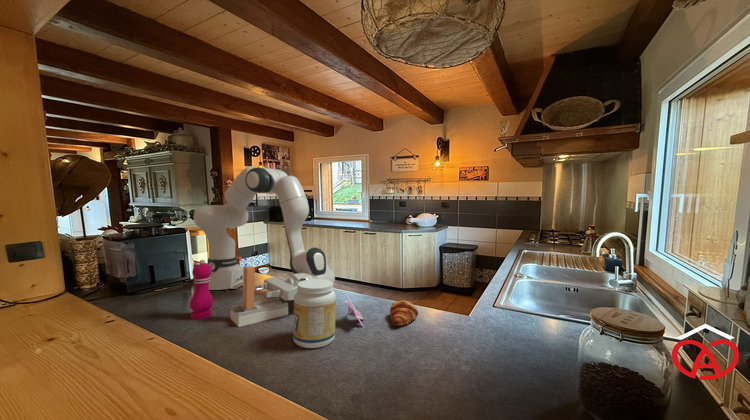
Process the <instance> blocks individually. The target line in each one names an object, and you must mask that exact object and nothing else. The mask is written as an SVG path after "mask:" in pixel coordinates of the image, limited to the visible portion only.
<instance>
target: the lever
mask: <svg viewBox="0 0 750 420" xmlns="http://www.w3.org/2000/svg"><path fill="white" fill-rule="evenodd" d="M255 271H256V269H255V267H254V266H251V265H249V266H247V265H246V266H243V287H242V304H243V305H242V304H240V305H241V306H239V309H240V310H242V311H243V312H245V311H250V310H254V309H257V307H255V306H254V302H255V277H256V275H255Z"/></svg>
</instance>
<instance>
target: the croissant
mask: <svg viewBox="0 0 750 420" xmlns="http://www.w3.org/2000/svg"><path fill="white" fill-rule="evenodd" d="M389 314H390V320H391V322H392V324H393V325H395V326H406V325H405V324H407V325H409V324H410V323H409V322H410V321H412V322H413V321H414V320H415V319H416V318H417V317H418V316H419V310H418V308H417V307H416V306H415V305H414V304H413V303H412V302H410V301H408V300H406V299H402V300H398V301H395V302H393V303H392V304H391V305H390V308H389Z"/></svg>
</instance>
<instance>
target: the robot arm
mask: <svg viewBox="0 0 750 420" xmlns="http://www.w3.org/2000/svg"><path fill="white" fill-rule="evenodd" d="M257 194H268V195H270V194H271V195H272V194H275V195H276V196H277V199H278V202H279V205H280V208H281V212H282V217H283V223H284V224H283V225H284V231H285V237H286V240H287V246H288V251H289V269H290V271H291V272H292V273H291V274H290V275H289V276H288V277H287V278H285V277H281V276H279V277H278V276H277V277H268V278H264V281H263V283H261V284H258V285H257V284H256V285H255V286H254V291H257V292H260V291H261V292H262V290H267V291H265V297H266V298H267V299H270V298H277V297H279V298H281V299H283V301H294V296H295V294H296V293H297V292H298V291H297V288H298V283H299V282H301V281H304V280H310V279H325V280H329V281H332V282H333V285H334V284H335V280H336V276H335V272H334V270H332V269H331V268H330V266H329V264H328V263H327V257H326V253H325V252H324V251H323V250H322V249H321V248H319V247H311V248H308V249H306V250H305V246H304V242H303V237H302V227H303V225H304V223H305V222H306V219H307V218H308V216H309V214H310V206H309V202H308V199H307V196H306V192H305V191H304V189H303V187H302V184H301V182H300V180H299V178H298V177H296V176H294V175H291V174H290V173H289V172H288V171H286V170H282V169H279V168H272V167H261V166H260V167H259V166H258V167H256V166H252V165H251V166H247V167H245V168H244V169H243V170H242V171H240V172H239V173H238V175H237V176H236V177H235V178H234V179H233V181H232V182H231V183H230V185H228V187H227V189H226V191H225V192H224V199H225V201H226V203H225V204H222V205H219V204H213V205H212V204H209V205H204V206H199V207H198V208H197V209H196V210H195V211H194V214H193V223H195V226H197V227H198V228H199V229H201V230H202V231H203V233H204V234H205V236H206V239H207V243H208V258H207V264H208V265H210V266H211V268H212V273H211V275H210V276H209V277H210V282H209V290H221V289H227V288H233V286H235V285H237V284H239V283H241V282H243V268H244V266H241V265H240V264H239V263H238V262H241V261H242V259H243V257H242V256H237V257H236V241H235V239H234V238H232V237H231V236H229V234H228V231H227V229H234V228H240V227H242V226H245V225H246V224H247V223H248V221H249V212H248V210H247V208H248V206H249V204H251V202H252V201H253V199H254V198H255V196H256V195H257Z"/></svg>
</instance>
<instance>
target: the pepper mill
mask: <svg viewBox="0 0 750 420" xmlns="http://www.w3.org/2000/svg"><path fill="white" fill-rule="evenodd" d="M191 273H192V276H193V277H194V278H193V280H194V281H193V283H194V285H195V286H194V287H195V289H194V293H193V294H192V297H191V299H190V301H189V309H190V310H191V312H190V313H191V314H190V318H191V319H192V320H204V319H208V318H210V317H212V316H213V310H212V307H213V306H214V303H215V302H214V298H213V296H212V294H211V291H209V282H210V277H209V276H210V275H211V273H212V268H211V266H210V265H208V263H206V260H205V259H201V260H199V264H197V265H195V266H194V267H193V268H192V271H191Z"/></svg>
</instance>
